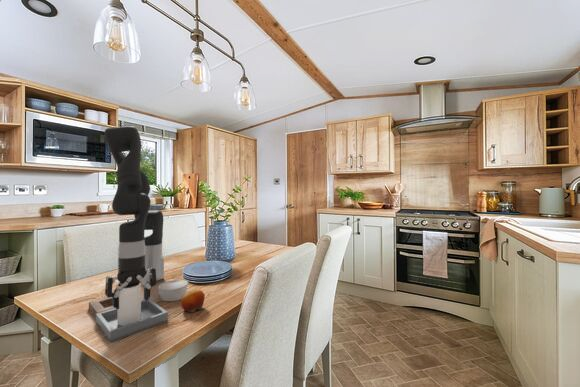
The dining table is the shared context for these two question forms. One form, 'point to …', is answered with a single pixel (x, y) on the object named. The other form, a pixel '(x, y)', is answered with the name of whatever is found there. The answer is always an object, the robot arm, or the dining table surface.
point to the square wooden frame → (100, 305)
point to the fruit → (193, 300)
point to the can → (129, 305)
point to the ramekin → (172, 290)
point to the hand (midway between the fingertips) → (132, 303)
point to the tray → (149, 318)
